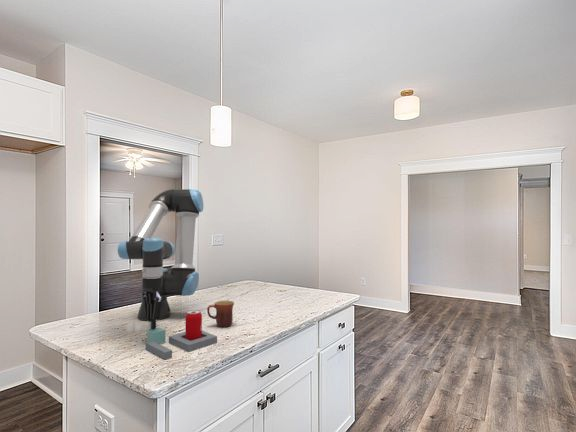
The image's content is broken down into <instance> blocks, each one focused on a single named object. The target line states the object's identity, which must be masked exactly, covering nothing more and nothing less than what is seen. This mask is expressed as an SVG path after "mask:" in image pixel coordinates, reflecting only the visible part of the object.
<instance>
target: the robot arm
mask: <svg viewBox="0 0 576 432" xmlns="http://www.w3.org/2000/svg"><path fill="white" fill-rule="evenodd" d="M203 199H204V198H203V195H202V193H201V191H200V190H198V189H191V188H189V189H188V188H187V189H184V188H183V189H181V188H180V189H179V188H175V189H174V188H172V189H167V190H163V191H162V192H160V193H159V194H157V195H156V196H155V197H154V198H153V199H152V200H151V202H150V203H149V204H148V210H147V212H146V214H145V215H144V217H143V218H142V220H140V223H139V224H138V226H137V227H136V229H135V230H134V232H133V234H132V236H131V237H130V239H128V241H126V240H125V241H121V242H120V243H119V244H118V247H117V254H118V257H119V258H120V259H123V260H142V269H141V272H142V277H141V302H140V303H141V304H140V306H139V308H138V311H137V319H138V320H140V321H145V322H147V330H150V329H152V330H153V329H156V328H157V321H158V320H159V321H160V320H164V319H166V318H169V317H171V315H172V314H171V313H172V312H171V311H172V310H171V308H170V305H169V302H168V296H170V297H171V296H176V297H177V296H180V297H185V296H187V297H188V296H189V297H190V296H192V295H194V294H195V293H196V291H197V288H198V285H199V282H200V281H199V278H200V277H199V272H198V271H196V267H195V266H194V264H193V263H194V247H195V237H196V235H195V232H196V219H198V217H199V216H200V213H202V212H203V210H204V200H203ZM171 212H175V215H176V216H177V217H178V219H177V220H178V221H177V232H176V243H175V245H174V244H173V243H172V242H171V241H167V240H164V239H162V238H160V237H153V236H154V233H155V232H156V230H157V229H158V227H159V225H160V223H161V222H162V220H163V218H164V217H165V216H167V215H168V214H169V213H171ZM152 237H153V238H152ZM174 254H175V255H174ZM173 256H175V257H174V265H172V266H171V268H170V271H168V268H166V267H165V268H164V265H163V264H164V260H169V259H170V258H172V257H173Z"/></svg>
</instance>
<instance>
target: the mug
mask: <svg viewBox="0 0 576 432" xmlns="http://www.w3.org/2000/svg"><path fill="white" fill-rule="evenodd" d="M234 305H235V301H232V300H219V301H218V300H217V301H216V302H214V304H210V305H208V306H207V309H206V311H207V315H208V317H209V318H211V319H213V320H215V322H216V326H217V327H219V328H229V327H231V326H232V324H233V320H234V319H233V317H234V316H233V309H234V308H233V307H234ZM210 308H214V309H215V312H216V313H215V315H211V313H210Z"/></svg>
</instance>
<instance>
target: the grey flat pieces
mask: <svg viewBox="0 0 576 432" xmlns="http://www.w3.org/2000/svg"><path fill="white" fill-rule="evenodd" d="M185 333H186V331H183V332H180V333H175V334H172V335H169V336H168V343H169V344H171V345H173V346H176V347H177V348H180V349H182V350H183V351H186V352H192V351H195V350H198V349H202V348H204V347H206V346H207V347H208V346H211V345H214V344H216V343H218V336H217V335H215V334H212V333H209V332H207V331H205V330H202V338H199V339H195V340H192V341H190V340H187V339H185ZM145 350H146V351H148V352H150V353H152V354H153V355H156V356H157V357H159V358H161V359H163V360H168V359H171V358H173V349H171V348H168V347H166V346H164V345H162V344H158V343H156V342H154V341H150V342H147V341H146V342H145Z"/></svg>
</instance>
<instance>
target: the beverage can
mask: <svg viewBox="0 0 576 432" xmlns="http://www.w3.org/2000/svg"><path fill="white" fill-rule="evenodd" d="M202 331H203V314H202V312H201V310H199V309H190V310H187V311H186V314H185V332H186V333H185V339H187V340H190V341H192V340H195V339H199V338H202Z"/></svg>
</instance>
